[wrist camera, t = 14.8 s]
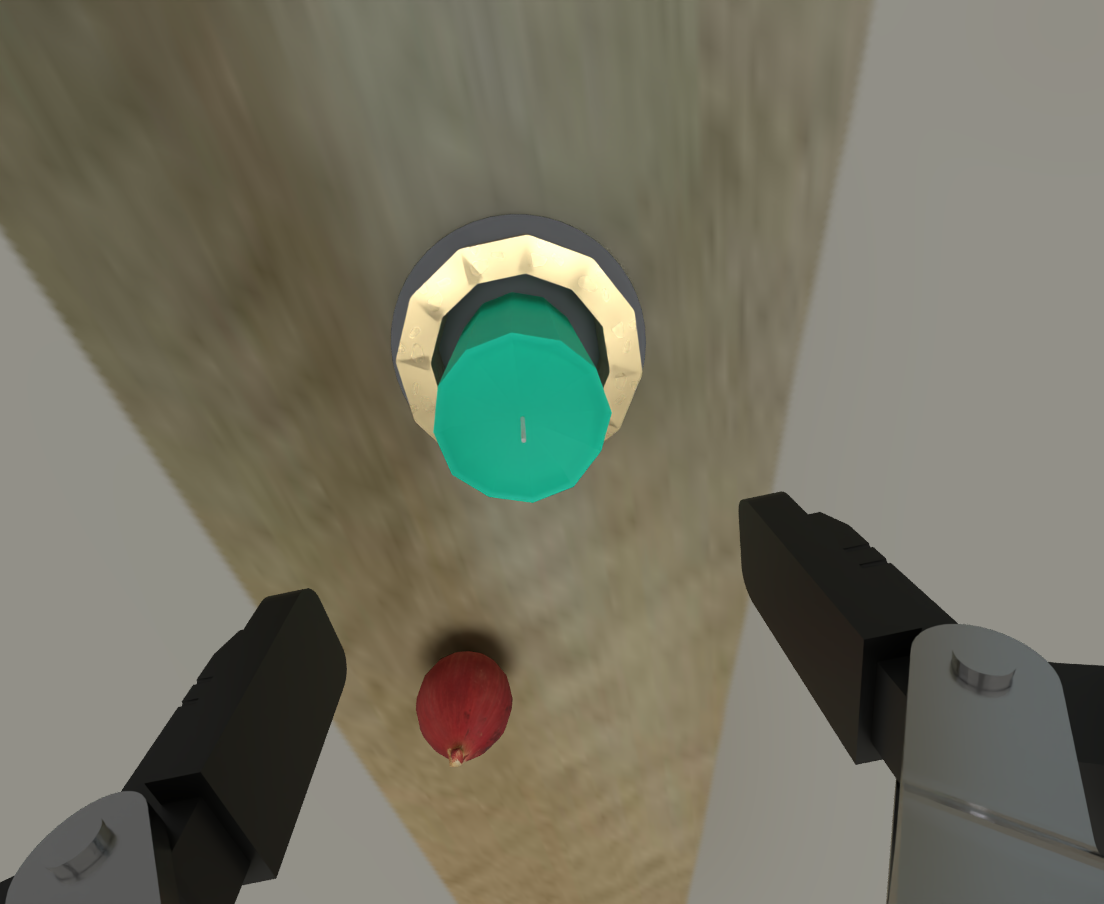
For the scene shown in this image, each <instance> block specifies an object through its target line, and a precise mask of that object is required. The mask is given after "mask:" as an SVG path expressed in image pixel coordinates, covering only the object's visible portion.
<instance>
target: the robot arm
mask: <svg viewBox="0 0 1104 904" xmlns="http://www.w3.org/2000/svg"><path fill="white" fill-rule="evenodd" d="M739 528H740V546H741V563H742V573H743V578H744V582H745V585H746V589H747V591H748V594H749V596H750V598H751V600H752V602H753V604H754V605H755V607H756V608H757V610H758V612H759V613H760V615H761V616H762V618H763V619H764V621H765V623H766V624H767V626H768V627H769V629H770V630H771V632H772V633H773V635H774V637H775V638H776V640H777V641H778V643H779V645H780V646H781V648H782V649H783V651H784V653H785V654H786V655H787V657H788V659H789V660H790V662H791V664H792V665H793V667H794V668H795V670H796V671H797V673H798V675H799V676H800V678H801V679H802V681H803V682H804V684H805V685H806V687H807V689H808V690H809V692H810V694H811V695H812V697H813V698H814V700H815V701H816V703H817V705H818V706H819V707H820V709H821V711H822V712H823V714H824V715H825V717H826V719H827V720H828V722H829V723H830V725H831V727H832V728H833V730H834V731H835V733H836V734H837V736H838V737H839V739H840V741H841V742H842V744H843V746H844V747H845V749H846V750H847V752H848V753H849V755H850V756H851V758H852V760H853V761H854V763H855V764H856V765H857V764H862V763H867V762H872V761H877V760H882V759H883V760H884V761H885V763H886V764H887V766H888V767H889V769H890V770H891V771H892V773H893V774H894V776H895V777H896V785H895V795H894V808H893V820H892V833H891V846H890V859H889V873H888V886H887V899H886V904H1104V666H1098V665H1082V664H1064V663H1053V662H1047V661H1046V660H1045V659H1044V658H1043V657H1042V656H1041V655H1039V654H1038V653H1037V652H1036V651H1034V650H1033V649H1031V648H1030V647H1028V646H1027V645H1025V644H1023V643H1022V642H1020V641H1018V640H1016V639H1014V638H1012V637H1010V636H1007V635H1005V634H1003V633H999V632H997V631H994V630H991V629H987V628H983V627H979V626H973V625H965V624H958V623H957V622H956V621H955V620H953V619H952V618H951V617H950V616H949V615H948V614H947V613H946V612H945V611H943V610H942V609H941V608H940V607H939V606H938V605H937V604H936V603H935V602H934V601H932V600H931V599H930V598H929V597H928V596H927V595H926V594H925V593H924V592H922V591H921V590H920V589H919V588H918V587H917V586H916V585H915V584H913V583H912V582H911V581H910V580H909V579H908V578H907V577H906V576H905V575H903V574H902V573H901V572H900V571H899V570H898V569H897V568H896V567H895V566H894V565H892V564H891V563H887V561H886V558H885V557H884V556H883V555H881V554H880V553H879V552H878V551H877V550H876V549H875V548H873V547H870V546H869V543H868V542H867V541H866V540H865V539H864V538H863V537H861V536H860V535H859V534H858V533H857V532H856V531H855V530H853V528H852V527H850V526H849V525H847V524H845V523H843V522H841V521H839V520H837V519H834V518H832V517H830V516H828V515H826V514H823V513H821V512H818V513H813V514H807V513H806V512H805V511H804V510H803V509H802V508H801V507H800V506H799V505H798V504H797V503H796V502H795V501H794V500H793V499H792V498H791V497H790V496H789V495H788V494H787V493H785V492H777V493H772V494H767V495H762V496H757V497H752V498H748V499H743V500H741V501H740V503H739ZM346 673H347V666H346V657H345V653H344V650H343V648H342V645H341V643H340V641H339V639H338V637H337V635H336V633H335V631H334V628H333V626H332V624H331V622H330V620H329V618H328V616H327V614H326V611H325V609H324V607H323V605H322V603H321V601H320V599H319V597H318V595H317V594H316V592H314V591H313V590H312V589H309V588H307V589H302V590H297V591H292V592H287V593H283V594H278V595H273V596H268V597H266V598H265V599H263V601H262V602H261V603H260V605H259V606H258V608H257V609H256V611H255V612H254V614H253V616H252V617H251V619H250V620H249V622H248V623H247V625H246V627H245V628H244V630H240V631H239V632H238V633H236V634H235V635H234V636H233V637H232V638H231V639H230V640H229V641H228V642H227V643H226V644H224V645H223V646H222V647H221V648H220V649H219V650H218V651H217V652H216V653H215V654H214V655H213V657H212V658H211V659H210V661H209V662H208V664H207V665H206V667H205V668H204V670H203V671H202V673H201V674H200V676H199V677H198V679H197V684H196V685H193V686H192V688H191V689H190V690H189V692H188V693H187V695H186V696H185V698H184V699H183V701H182V703H183V704H182V706H181V707H178V708H177V710H176V711H175V712H174V714H173V715H172V717H171V718H170V720H169V721H168V723H167V724H166V726H165V727H164V729H163V730H162V732H161V733H160V735H159V736H158V738H157V739H156V741H155V742H154V744H153V745H152V746H151V748H150V749H149V751H148V752H147V754H146V755H145V757H144V759H143V760H142V761H141V763H140V764H139V766H138V767H137V769H136V770H135V772H134V773H133V775H132V776H131V778H130V779H129V780H128V782H127V783H126V785H125V786H124V788H123V789H122V791H121V792H118V793H114V794H111V795H108V796H105V797H103V798H101V799H98V800H96V801H95V802H92V803H90V804H89V805H87V806H85V807H84V808H82V809H80V810H79V811H77V812H76V813H74V814H73V815H71V816H70V817H69V818H67V819H66V820H65V821H64V822H62V823H61V824H60V825H58V826H57V827H56V828H55V829H54V830H53V831H52V832H51V833H49V834H48V835H47V836H46V837H45V838H44V839H43V840H42V841H41V842H40V843H39V844H38V845H37V846H36V848H35V849H34V850H33V851H32V852H31V853H30V855H29V856H28V857H27V858H26V860H25V861H24V862H23V864H22V865H21V867H20V868H19V870H18V871H17V873H16V874H15V876H13V877H11V878H9V879H6V880H4V881H2V882H0V904H235V901H236V899H237V896H238V894H239V891H240V889H241V886H242V885H246V884H251V883H256V882H261V881H266V880H271V879H276V878H277V875H278V872H279V869H280V866H281V863H282V860H283V858H284V855H285V852H286V849H287V846H288V843H289V841H290V838H291V835H292V832H293V829H294V827H295V823H296V821H297V818H298V815H299V812H300V809H301V807H302V804H303V801H304V798H305V795H306V793H307V790H308V787H309V784H310V781H311V778H312V775H313V773H314V770H315V767H316V764H317V761H318V758H319V756H320V753H321V750H322V747H323V744H324V742H325V738H326V736H327V733H328V730H329V727H330V725H331V722H332V719H333V716H334V713H335V710H336V708H337V705H338V702H339V699H340V696H341V693H342V691H343V688H344V685H345V681H346Z"/></svg>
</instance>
